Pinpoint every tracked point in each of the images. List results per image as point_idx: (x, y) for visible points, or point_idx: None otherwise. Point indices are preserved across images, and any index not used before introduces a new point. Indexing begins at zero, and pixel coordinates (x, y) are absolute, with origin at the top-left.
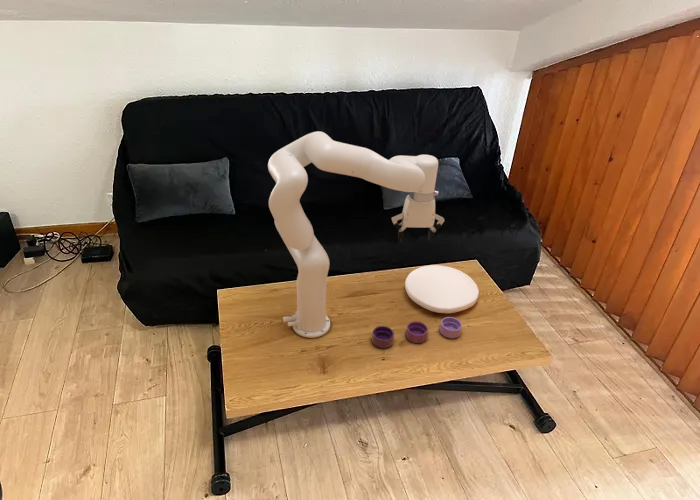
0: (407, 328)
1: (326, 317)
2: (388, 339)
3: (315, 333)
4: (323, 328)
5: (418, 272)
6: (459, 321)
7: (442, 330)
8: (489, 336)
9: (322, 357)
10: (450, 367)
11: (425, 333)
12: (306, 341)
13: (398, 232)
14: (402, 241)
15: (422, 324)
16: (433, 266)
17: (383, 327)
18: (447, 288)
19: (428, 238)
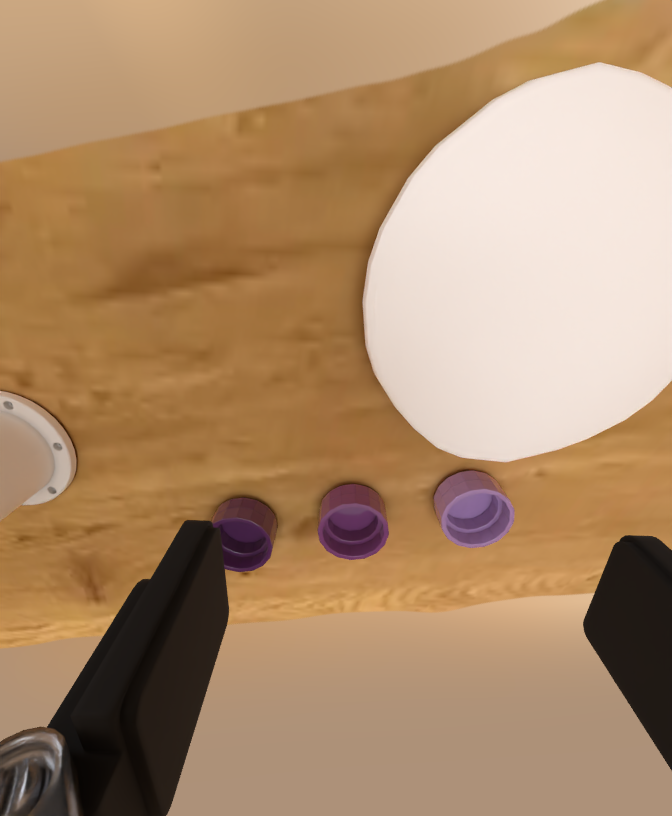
0: (319, 532)
1: (49, 431)
2: (252, 568)
3: (33, 498)
4: (52, 479)
5: (463, 186)
6: (511, 511)
7: (438, 519)
8: (583, 517)
9: (82, 560)
10: (414, 603)
11: (373, 553)
12: (21, 508)
13: (93, 672)
14: (220, 629)
15: (376, 513)
16: (584, 102)
17: (240, 520)
18: (555, 359)
19: (616, 600)
